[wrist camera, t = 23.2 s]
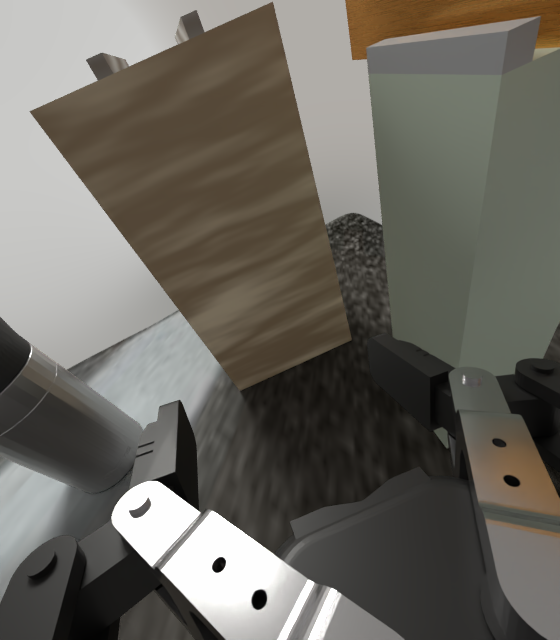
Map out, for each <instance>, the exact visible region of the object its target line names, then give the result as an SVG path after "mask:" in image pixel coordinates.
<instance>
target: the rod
mask: <svg viewBox="0 0 560 640" xmlns="http://www.w3.org/2000/svg"><path fill="white" fill-rule="evenodd" d="M345 1H346V9H347V18H348V26H349V35H350V43H351V52H352V59H353V60H361V59H367V52H366V48H367V47H369V46H371V45H373V44H375V43H378V42H380V41H382V40H384V39H389V38H395V37H402V36H409V35H416V34H422V33H429V32H436V31H443V30H449V29H456V28H463V27H470V26H477V25H483V24H490V23H497V22H504V21H510V20H517V19H524V18H531V17H537V16H541V20H540V25H539V30H538V35H537V40H536V45H535V49H541V48H557V47H560V0H345Z"/></svg>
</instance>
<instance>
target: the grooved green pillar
mask: <svg viewBox="0 0 560 640" xmlns="http://www.w3.org/2000/svg"><path fill="white" fill-rule="evenodd" d="M540 20H541V16H537V17H531V18H524V19H517V20H510V21H504V22H497V23H490V24H483V25H477V26H470V27H463V28H456V29H449V30H443V31H436V32H429V33H422V34H416V35H409V36H402V37H395V38H389V39H384V40H382V41H380V42H378V43H375V44H373V45H371V46H369V47H367V48H366V52H367V62H368V73H369V84H370V95H371V106H372V117H373V127H374V138H375V149H376V160H377V170H378V181H379V192H380V203H381V214H382V225H383V236H384V247H385V257H386V268H387V279H388V290H389V301H390V312H391V322H392V333H393V337H394V338H395V339H397V340H398V341H399V340H402V341H406V342H410V343H413V344H415V345H416V346H418V347H420V348H421V349H422V350H425V351H427V352H428V353H429V354H432V355H434V356H435V357H437V358H439V359H440V360H442V361H444V362H446V363H447V364H449V365H451V366H452V367H454V368H460V367H476V368H480V369H484V370H486V371H488V372H490V373H492V374H493V375H494V376H501V375H510V374H515V367H516V363H517V362H518V361H520V360H523V359H528V358H541V359H543V357H544V354H545V352H546V350H547V348H548V346H549V343H550V341H551V339H552V337H553V335H554V332H555V330H556V328H557V326H558V324H559V321H560V47H557V48H541V49H535V45H536V40H537V35H538V30H539V25H540ZM434 432H435V434H436V435H437V436H438V438H439V439H440V440H441V442H442V443H443V444H444V446H445V447H446V448H449V445H448V439H447V431H446V430H445V429H444V428H443V427H441V428H438V429H436V430H434Z"/></svg>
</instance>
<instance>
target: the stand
mask: <svg viewBox="0 0 560 640" xmlns="http://www.w3.org/2000/svg"><path fill="white" fill-rule="evenodd" d="M175 38H176V41H177V43H178V45H176V46H174V47H172V48H169V49H167V50H165V51H163V52H161V53H158V54H156V55H154V56H152V57H149V58H147V59H145V60H143V61H141V62H138V63H136V64H134V65H132V66H128V64H127V62H126V60H125V59H122V58H118V57H115V56H111V55H108V54H104V53H100V54H98V55H96V56H93V57H91V58H89V59H87V60H86V61H87V62H88V64H89V66H90V68H91V69H92V71H93V73H94V74H95V76H96V78H97V80H98V81H96V82H94V83H92V84H90V85H87V86H85V87H83V88H81V89H79V90H76V91H74V92H72V93H70V94H67V95H65V96H63V97H61V98H59V99H56V100H54V101H52V102H50V103H47V104H45V105H43V106H41V107H39V108H36V109H34V110H32V111H30V113H31V114H32V115H33V117H34V118H35V119H36V121H37V122H38V123H39V125H40V126H41V127H42V129H43V130H44V131H45V133H46V134H47V135H48V136H49V138H50V139H51V141H52V142H53V143H54V145H55V146H56V147H57V149H58V150H59V151H60V153H61V154H62V155H63V157H64V158H65V159H66V161H67V162H68V163H69V164H70V166H71V167H72V168H73V170H74V171H75V173H76V174H77V175H78V176H79V178H80V179H81V180H82V182H83V183H84V184H85V186H86V187H87V188H88V190H89V191H90V192H91V194H92V195H93V196H94V198H95V199H96V200H97V201H98V203H99V204H100V206H101V207H102V208H103V210H104V211H105V212H106V214H107V215H108V216H109V218H110V219H111V220H112V222H113V223H114V224H115V226H116V227H117V228H118V230H119V231H120V232H121V234H122V235H123V236H124V237H125V239H126V240H127V242H128V243H129V244H130V246H131V247H132V248H133V249H134V251H135V252H136V253H137V255H138V256H139V257H140V259H141V260H142V261H143V263H144V264H145V265H146V267H147V268H148V269H149V271H150V272H151V273H152V275H153V276H154V277H155V279H156V280H157V281H158V283H159V284H160V285H161V287H162V288H163V289H164V291H165V292H166V293H167V295H168V296H169V297H170V299H171V300H172V301H173V302H174V304H175V305H176V306H177V308H178V309H179V311H180V312H181V313H182V315H183V316H184V317H185V319H186V320H187V321H188V323H189V324H190V325H191V326H192V328H193V329H194V330H195V332H196V333H197V334H198V336H199V337H200V338H201V340H202V341H203V342H204V344H205V345H206V346H207V348H208V349H209V350H210V352H211V353H212V354H213V356H214V357H215V358H216V360H217V361H218V362H219V364H220V365H221V366H222V368H223V369H224V370H225V372H226V373H227V374H228V376H229V377H230V378H231V380H232V381H233V382H234V384H235V385H236V386H237V388H238V389H239V390H240V391H241V390H243V389H246V388H248V387H250V386H252V385H254V384H256V383H259V382H261V381H263V380H265V379H267V378H270V377H272V376H274V375H276V374H278V373H281V372H283V371H285V370H287V369H289V368H292V367H294V366H296V365H298V364H300V363H303V362H305V361H307V360H309V359H311V358H313V357H316V356H318V355H320V354H322V353H324V352H327V351H329V350H331V349H333V348H335V347H338V346H340V345H342V344H344V343H346V342H349V341H351V340H352V338H351V333H350V329H349V325H348V321H347V316H346V312H345V308H344V304H343V299H342V295H341V291H340V287H339V282H338V278H337V274H336V269H335V265H334V261H333V257H332V252H331V248H330V244H329V240H328V235H327V231H326V227H325V223H324V218H323V214H322V210H321V206H320V201H319V197H318V193H317V188H316V185H315V180H314V176H313V171H312V167H311V163H310V158H309V155H308V150H307V146H306V141H305V137H304V133H303V129H302V125H301V120H300V116H299V112H298V108H297V103H296V99H295V94H294V90H293V86H292V82H291V77H290V73H289V69H288V65H287V60H286V56H285V52H284V48H283V43H282V39H281V35H280V31H279V26H278V22H277V18H276V14H275V9H274V5H273V2H271V3H269V4H267V5H265V6H262V7H260V8H258V9H256V10H254V11H251V12H249V13H247V14H245V15H242V16H240V17H238V18H236V19H234V20H231V21H229V22H227V23H225V24H223V25H220V26H218V27H216V28H214V29H212V30H209V31H207V32H204V30H203V27H202V24H201V21H200V19H199V16H198V13H197V11H196V10H195V11H193V12H191V13H189V14H187V15H184V16H182V17H181V18H180V21H179V25H178V29H177V32H176V36H175Z"/></svg>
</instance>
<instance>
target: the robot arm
mask: <svg viewBox="0 0 560 640" xmlns="http://www.w3.org/2000/svg"><path fill="white" fill-rule="evenodd" d="M367 345H368V356H369V367H370V373H371V375H372V378H373V379H374V381H375V382H376V383H377V384H378V385H379V386H380V387H381V388H382V389H383V390H384V391H386V392H387V393H388V394H389V395H390V396H391V397H392V398H393V399H394V400H395V401H397V402H398V403H399V404H400V405H401V406H402V407H403V408H404V409H405V410H407V411H408V412H409V413H410V414H411V415H412V416H413V417H414V418H415V419H417V420H418V421H419V422H420V423H421V424H422V425H423V426H424V427H425V428H427V429H428V430H429V431H430V432H431V431H434V430H436V429H438V428H441V427H443V428H444V429H445V430H446V431H447V439H448V445H449V452H450V459H451V466H452V473H453V477H448V476H427V475H426V473H425V472H424V471H423V470H422V469H421V468H420V467H416V468H414V469H412V470H409V471H407V472H405V473H402V474H400V475H398V476H395V477H393V478H391V479H389V480H388V481H386V482H385V483H384V484H383V485H382V486H380V487H379V488H378V489H377V490H376V491H374V492H373V493H372V494H371V495H369V496H368V497H367V498H366V499H364V500H363V501H360V502H354V503H347V504H341V505H334V506H328V507H323V508H321V509H318V510H316V511H314V512H311V513H309V514H307V515H304V516H302V517H300V518H297V519H295V520H293V521H290V523H291V527H292V531H293V535H292V536H291V537H289V538H288V539H287V540H286V541H285V542H284V543H283V544H282V545H281V546H280V547H279V549H278V550H277V551H276V553H275V554H272V553H271V552H270V551H268V550H267V549H265V548H264V547H263V546H261V545H260V544H258V543H257V542H256V541H254V540H253V539H251V538H250V537H249V536H247V535H246V534H244V533H243V532H242V531H240V530H239V529H237V528H236V527H235V526H233V525H232V524H230V523H229V522H228V521H226V520H225V519H223V518H222V517H221V516H219V515H218V514H216V513H215V512H213V511H212V510H209V509H206V510H205V511H204V512H203V513H202V514H201V513H200V512H199V500H198V474H197V448H196V441H195V437H194V433H193V430H192V428H191V425H190V422H189V420H188V417H187V415H186V412H185V409H184V407H183V404H182V402H181V401H180V400H178V401H175V402H171V403H168V404H165V405H162V406H160V407H159V412H158V419H157V421H156V422H153V423H150V424H148V425H147V427H146V428H145V429H144V431H142V427H141V426H140V424H139V423H138V422H136V421H135V420H134V419H132V418H131V417H129V416H128V415H127V414H125V413H124V412H123V411H121V410H120V409H119V408H118V407H116V406H115V405H114V404H112V403H111V402H109V401H108V400H107V399H105V398H104V397H103V396H101V395H100V394H99V393H97V392H96V391H95V390H93V389H92V388H90V387H89V386H88V385H86V384H85V383H84V382H82V381H81V380H80V379H78V378H77V377H75V376H74V375H73V374H71V373H70V372H69V371H67V370H66V369H65V368H63V367H62V366H60V365H59V364H58V363H56V362H55V361H53V360H52V359H51V358H49V357H48V356H46V355H45V354H44V353H43V352H41V351H40V350H38V349H37V348H36V347H34V346H33V345H32V344H30V343H29V342H27V341H26V340H25V339H23V338H22V337H21V336H19V335H18V334H17V333H16V332H15V331H14V330H13V329H12V328H10V326H9V325H8V324H7V323H6V322H5V321H4V320H3V319H2V318H1V317H0V457H2V458H4V459H7V460H9V461H12V462H14V463H17V464H19V465H21V466H24V467H26V468H29V469H31V470H34V471H36V472H38V473H41V474H43V475H46V476H48V477H51V478H53V479H55V480H58V481H60V482H62V483H65V484H67V485H70V486H72V487H75V488H77V489H79V490H82V491H84V492H87V493H98V492H102V491H104V490H106V489H108V488H110V487H112V486H113V485H115V484H116V483H117V482H118V481H120V480H121V479H122V478H123V477H124V476H125V475H126V474H127V472H128V471H129V470H130V469H131V467H132V466H133V464H134V467H133V472H132V477H131V482H130V486H129V491H128V492H127V493H126V494H125V495H124V496H123V497H122V498H121V499H120V500H119V502H118V503H117V504H116V506H115V508H114V510H113V513H112V519H111V520H110V521H108V522H107V523H106V524H105V525H103V526H102V527H101V528H99V529H98V530H96V531H94V532H93V533H91V534H90V535H88V536H87V537H85V538H84V539H82V540H81V541H79V542H77V541H76V540H75V539H74V537H72V536H69V535H63V536H58V537H55V538H53V539H51V540H49V541H47V542H45V543H44V544H42V545H41V546H39V547H38V548H37V549H35V550H34V551H33V552H32V553H31V554H30V555H29V556H28V557H27V558H26V559H25V560H24V561H23V562H22V563H21V564H20V566H19V567H18V568H17V570H16V571H15V573H14V574H13V576H12V578H11V580H10V582H9V585H8V587H7V589H6V592H5V594H4V596H3V599H2V601H1V603H0V640H118V631H119V622H120V616H122V615H123V614H124V613H125V612H127V611H128V610H129V609H130V608H132V607H133V606H134V605H135V604H137V603H138V602H139V601H140V600H142V599H143V598H144V597H145V596H147V595H148V594H149V593H150V592H152V591H154V592H155V593H156V594H157V595H158V597H159V598H160V599H161V600H162V601H163V602H164V604H165V605H166V606H167V607H168V608H169V609H170V611H171V612H172V613H173V614H174V615H175V616H176V618H177V619H178V620H179V621H180V622H181V623H182V625H183V626H184V627H185V628H186V629H187V630H188V632H189V633H190V634H191V635H192V637H193V638H194V639H195V640H560V498H559V496H558V494H557V492H556V490H555V488H554V485H553V483H552V481H551V479H550V477H549V474H548V472H547V470H546V468H545V466H544V463H543V461H542V460H544V461H545V462H546V463H548V464H549V465H550V466H552V467H553V468H554V469H556V470H557V471H558V472H560V363H558V362H555V361H551V360H547V359H541V358H528V359H523V360H520V361H518V362H517V363H516V367H515V374H510V375H501V376H494V375H493V374H492V373H490V372H488V371H486V370H484V369H480V368H476V367H460V368H454V367H452V366H451V365H449V364H447V363H446V362H444V361H442V360H440V359H439V358H437V357H435V356H434V355H432V354H429V353H428V352H427V351H425V350H422V349H421V348H420V347H418V346H416V345H415V344H413V343H410V342H406V341H402V340H399V341H398V340H397V339H395V338H394V337H392V336H390V335H389V334H387V333H384V334H380V335H377V336H374V337H371V338H369V339H368V342H367Z"/></svg>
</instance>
